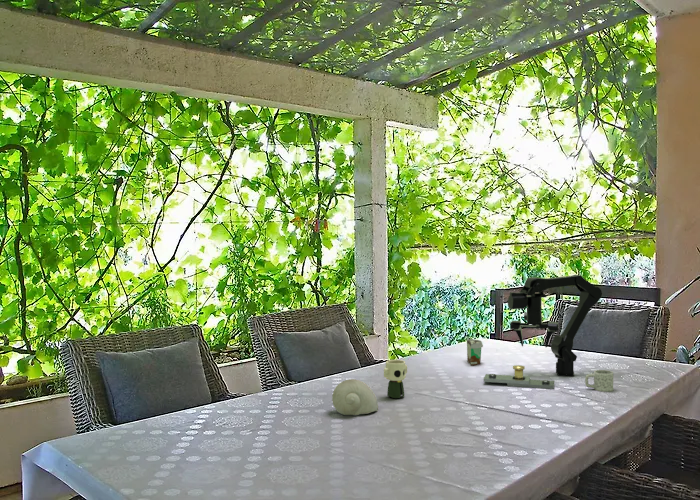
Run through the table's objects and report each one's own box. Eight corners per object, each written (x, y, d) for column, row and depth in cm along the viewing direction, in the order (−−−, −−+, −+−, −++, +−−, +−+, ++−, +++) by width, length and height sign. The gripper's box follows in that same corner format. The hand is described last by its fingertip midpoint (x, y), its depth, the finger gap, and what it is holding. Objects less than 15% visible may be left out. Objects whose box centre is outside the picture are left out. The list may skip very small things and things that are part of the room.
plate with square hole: (554, 384, 254) (554, 375, 254) (553, 389, 247) (553, 380, 247) (486, 379, 263) (486, 372, 263) (483, 384, 255) (483, 376, 255)
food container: (485, 366, 287) (485, 343, 287) (471, 366, 288) (471, 343, 287) (480, 360, 300) (480, 338, 299) (466, 360, 300) (466, 338, 300)
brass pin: (525, 383, 256) (525, 365, 256) (524, 386, 252) (524, 368, 252) (513, 382, 258) (513, 365, 257) (512, 385, 253) (512, 367, 253)
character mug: (390, 401, 232) (390, 365, 232) (378, 397, 238) (377, 362, 237) (413, 396, 239) (413, 361, 238) (400, 392, 245) (400, 358, 244)
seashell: (333, 432, 221) (330, 404, 212) (335, 399, 232) (331, 370, 223) (379, 431, 221) (377, 403, 211) (378, 398, 232) (376, 369, 222)
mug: (610, 387, 248) (610, 370, 248) (615, 392, 242) (615, 374, 242) (582, 387, 249) (582, 369, 249) (587, 391, 243) (587, 373, 243)
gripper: (558, 306, 272) (558, 344, 273) (512, 305, 278) (512, 342, 278) (558, 310, 261) (558, 349, 262) (509, 308, 267) (510, 347, 268)
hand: (534, 346), depth 268 cm, fingers open, 9 cm apart
